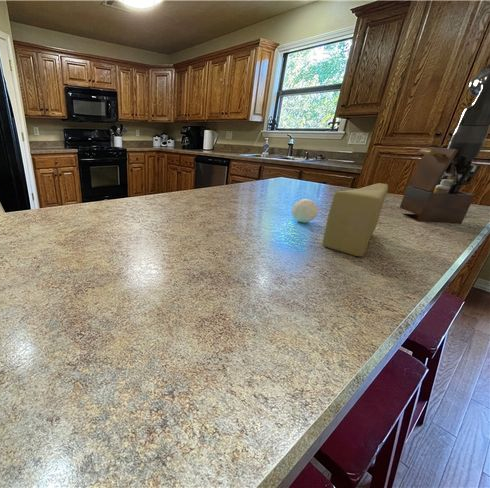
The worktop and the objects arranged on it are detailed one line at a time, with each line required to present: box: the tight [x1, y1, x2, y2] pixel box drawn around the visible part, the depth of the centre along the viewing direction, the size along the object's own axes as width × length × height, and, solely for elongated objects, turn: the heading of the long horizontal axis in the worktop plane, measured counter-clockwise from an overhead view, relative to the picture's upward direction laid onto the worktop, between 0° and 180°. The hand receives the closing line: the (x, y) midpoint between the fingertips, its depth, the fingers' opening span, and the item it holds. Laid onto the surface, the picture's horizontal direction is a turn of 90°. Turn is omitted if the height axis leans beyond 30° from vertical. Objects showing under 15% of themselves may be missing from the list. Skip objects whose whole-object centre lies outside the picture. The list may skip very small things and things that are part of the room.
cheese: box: [322, 182, 389, 257], centre depth 71 cm, size 22×10×15 cm, turn 128°
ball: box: [291, 198, 319, 224], centre depth 88 cm, size 8×8×8 cm
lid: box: [406, 146, 458, 192], centre depth 90 cm, size 13×12×5 cm
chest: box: [399, 185, 476, 225], centre depth 93 cm, size 13×12×10 cm
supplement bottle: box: [433, 178, 453, 193], centre depth 92 cm, size 6×6×10 cm
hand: (444, 193), depth 92 cm, fingers closed on supplement bottle, 5 cm apart
